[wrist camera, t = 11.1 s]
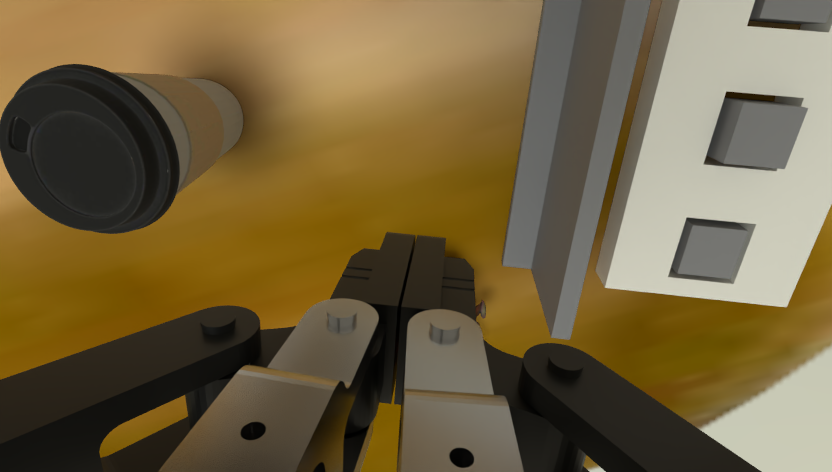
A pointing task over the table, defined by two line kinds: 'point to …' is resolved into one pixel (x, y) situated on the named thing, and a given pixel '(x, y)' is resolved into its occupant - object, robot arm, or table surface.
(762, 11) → the button near
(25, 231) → the table surface
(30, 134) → the coffee cup
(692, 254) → the button far
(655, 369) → the table surface
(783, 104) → the button middle
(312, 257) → the table surface
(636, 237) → the button board
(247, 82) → the table surface
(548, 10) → the pattern sign
